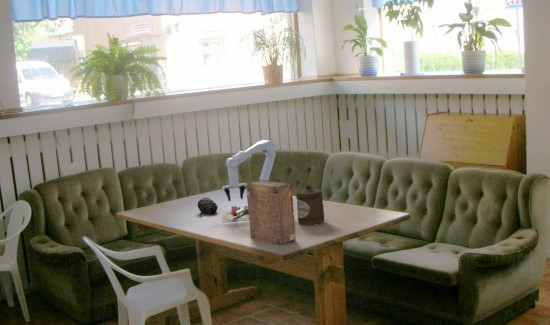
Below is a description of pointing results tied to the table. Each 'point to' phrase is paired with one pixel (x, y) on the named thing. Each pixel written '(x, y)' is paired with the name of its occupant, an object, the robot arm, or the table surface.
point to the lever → (237, 212)
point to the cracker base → (228, 216)
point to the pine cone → (207, 206)
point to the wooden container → (310, 206)
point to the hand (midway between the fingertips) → (235, 199)
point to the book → (271, 211)
